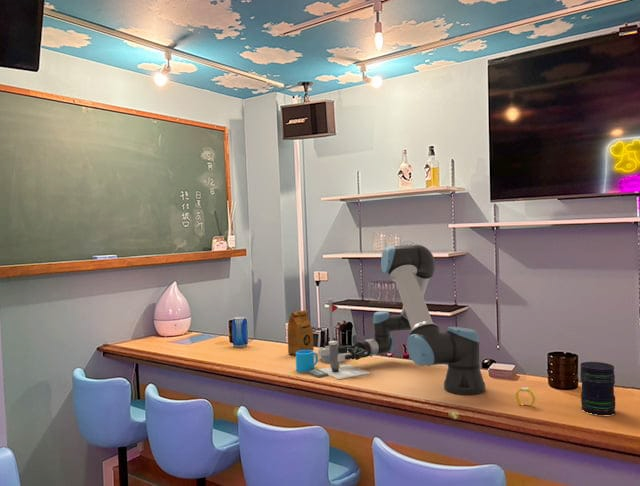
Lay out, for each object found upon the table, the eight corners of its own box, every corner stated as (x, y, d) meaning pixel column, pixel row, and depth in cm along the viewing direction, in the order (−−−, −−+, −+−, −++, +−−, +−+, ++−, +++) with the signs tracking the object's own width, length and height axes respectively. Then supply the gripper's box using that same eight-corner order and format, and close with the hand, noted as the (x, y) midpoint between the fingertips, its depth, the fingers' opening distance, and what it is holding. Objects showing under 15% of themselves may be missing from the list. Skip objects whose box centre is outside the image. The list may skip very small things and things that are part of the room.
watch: (515, 405, 174) (513, 388, 175) (518, 403, 177) (516, 386, 177) (533, 407, 171) (531, 390, 171) (536, 405, 173) (534, 387, 173)
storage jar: (583, 414, 163) (581, 368, 163) (579, 405, 172) (578, 361, 172) (618, 417, 159) (617, 370, 159) (612, 407, 169) (611, 362, 169)
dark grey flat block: (328, 375, 219) (328, 373, 219) (317, 377, 216) (317, 375, 216) (316, 370, 227) (316, 368, 227) (306, 372, 225) (306, 370, 225)
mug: (304, 373, 224) (304, 355, 224) (292, 370, 230) (291, 352, 230) (324, 368, 232) (323, 350, 232) (311, 365, 238) (311, 347, 238)
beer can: (246, 347, 281) (245, 318, 281) (231, 348, 281) (230, 319, 281) (249, 344, 290) (248, 316, 290) (234, 344, 290) (233, 316, 290)
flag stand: (331, 364, 238) (329, 300, 238) (313, 359, 248) (311, 298, 248) (351, 359, 247) (349, 297, 247) (332, 355, 257) (331, 295, 257)
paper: (370, 373, 220) (370, 372, 220) (338, 379, 212) (338, 378, 212) (347, 365, 235) (347, 364, 235) (317, 370, 228) (317, 369, 228)
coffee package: (316, 352, 263) (315, 310, 263) (298, 357, 255) (296, 313, 255) (304, 350, 271) (302, 308, 271) (285, 354, 262) (284, 311, 262)
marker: (341, 371, 223) (339, 341, 223) (334, 372, 221) (331, 343, 221) (336, 369, 227) (334, 340, 226) (329, 371, 225) (326, 341, 224)
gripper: (384, 361, 224) (346, 369, 212) (349, 352, 244) (313, 359, 232) (384, 344, 224) (346, 351, 212) (349, 336, 244) (312, 342, 232)
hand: (328, 355), depth 222 cm, fingers open, 13 cm apart
